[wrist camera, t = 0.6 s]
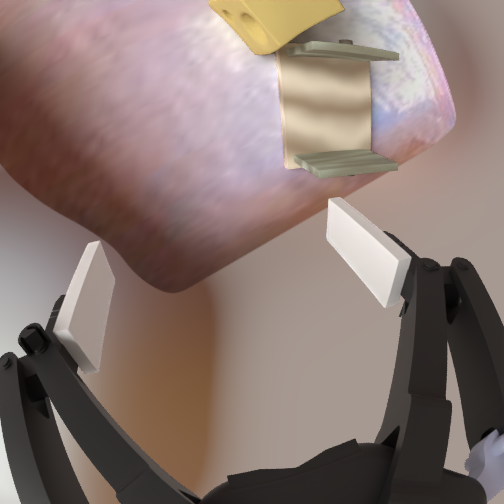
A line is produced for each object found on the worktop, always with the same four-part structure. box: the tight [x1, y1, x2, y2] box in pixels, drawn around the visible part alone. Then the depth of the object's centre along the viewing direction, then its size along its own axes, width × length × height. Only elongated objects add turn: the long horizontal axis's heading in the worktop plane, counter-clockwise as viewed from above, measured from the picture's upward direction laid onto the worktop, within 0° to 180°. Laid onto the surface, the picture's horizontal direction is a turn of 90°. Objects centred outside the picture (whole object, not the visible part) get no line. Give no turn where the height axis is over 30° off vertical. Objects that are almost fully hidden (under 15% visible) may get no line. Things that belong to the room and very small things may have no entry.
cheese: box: [208, 0, 345, 55], centre depth 23 cm, size 10×11×10 cm
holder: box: [275, 40, 399, 179], centre depth 32 cm, size 18×14×10 cm
